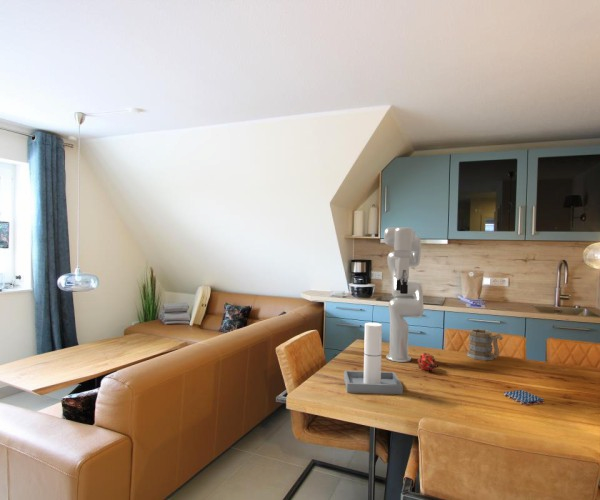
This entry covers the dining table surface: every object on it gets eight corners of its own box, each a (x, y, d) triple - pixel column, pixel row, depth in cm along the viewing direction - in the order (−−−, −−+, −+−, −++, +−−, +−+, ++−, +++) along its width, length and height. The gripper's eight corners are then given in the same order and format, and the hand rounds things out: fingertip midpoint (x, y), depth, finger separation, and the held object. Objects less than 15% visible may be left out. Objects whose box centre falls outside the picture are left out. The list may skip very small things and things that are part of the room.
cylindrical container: (361, 384, 160) (362, 324, 160) (366, 379, 167) (367, 321, 166) (377, 387, 157) (379, 326, 157) (382, 382, 163) (384, 323, 163)
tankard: (462, 354, 211) (463, 327, 211) (481, 352, 215) (481, 326, 215) (490, 365, 192) (491, 335, 192) (510, 363, 196) (511, 334, 196)
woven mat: (524, 407, 144) (524, 402, 144) (502, 396, 154) (502, 391, 154) (546, 404, 147) (546, 399, 147) (523, 394, 157) (523, 389, 157)
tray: (344, 378, 170) (344, 370, 170) (394, 379, 169) (394, 372, 169) (347, 392, 154) (347, 383, 154) (402, 394, 153) (402, 385, 153)
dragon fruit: (423, 368, 190) (432, 380, 179) (410, 359, 189) (419, 370, 177) (434, 355, 190) (444, 367, 178) (421, 346, 188) (431, 356, 177)
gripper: (390, 253, 184) (390, 289, 184) (397, 255, 166) (396, 294, 167) (406, 253, 183) (405, 289, 184) (415, 255, 166) (414, 295, 167)
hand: (401, 291), depth 176 cm, fingers open, 9 cm apart
